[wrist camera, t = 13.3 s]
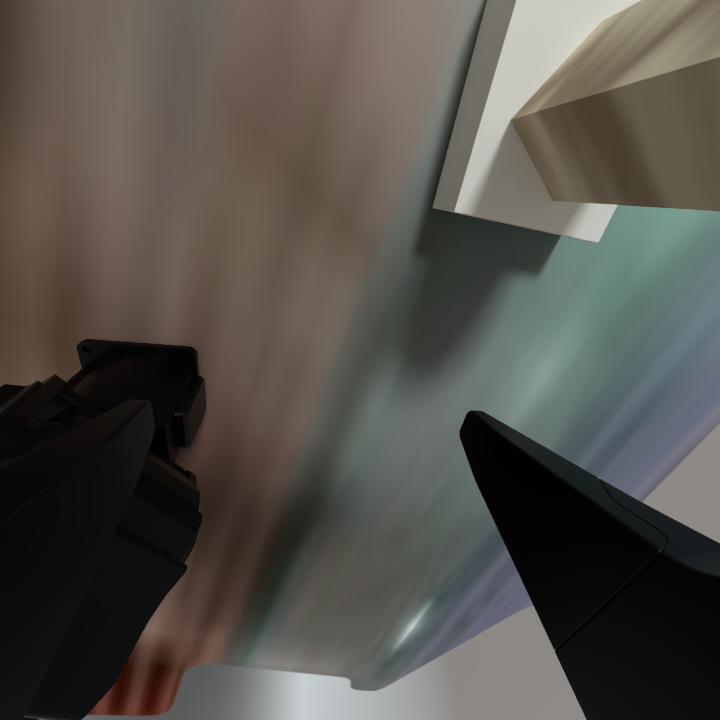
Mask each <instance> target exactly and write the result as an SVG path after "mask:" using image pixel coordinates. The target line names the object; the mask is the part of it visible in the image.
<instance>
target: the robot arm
mask: <svg viewBox="0 0 720 720" xmlns="http://www.w3.org/2000/svg"><path fill="white" fill-rule="evenodd" d="M86 346H89V347H90V348H91V349H92V350H89V349H87V348H86ZM77 351H78V355H79V359H80V362H81V366H82V369H81V370H80V371H79V372H78V373H76V374H75V375H74V376H73V377H72V378H71V379H70V380H68V381H67V382H65V381H64V380H63V379H61V378H60V377H58V376H57V375H56V374H55V375H53V376H51V377H50V378H48V379H47V380H45V381H43V382H42V383H41V382H39V381H36V382H35V383H33V384H31V385H27V386H17V385H8V384H5V385H3V386H1V387H0V720H41V719H44V720H82V719H83V718H84V717H85V716H86V715H87V714H88V713H89V712H90V711H91V710H92V709H93V707H94V706H95V705H96V704H97V703H98V702H99V701H100V700H101V699H102V698H103V696H104V695H105V694H106V693H107V692H108V691H109V690H110V689H111V688H112V686H113V685H114V684H115V682H116V681H117V679H118V677H119V676H120V674H121V672H122V670H123V668H124V666H125V664H126V662H127V660H128V658H129V656H130V655H131V653H132V651H133V649H134V647H135V645H136V643H137V641H138V639H139V637H140V636H141V634H142V632H143V630H144V629H145V627H146V625H147V623H148V621H149V620H150V618H151V617H152V615H153V614H154V612H155V611H156V609H157V608H158V606H159V605H160V603H161V602H162V600H163V599H164V598H165V596H166V595H167V593H168V592H169V591H170V590H171V589H172V588H173V586H174V585H175V584H176V583H177V582H178V580H179V579H180V578H181V577H182V576H183V575H184V573H185V572H186V570H187V565H186V564H184V563H185V561H186V559H187V558H188V556H189V554H190V552H191V550H192V548H193V546H194V544H195V541H196V538H197V534H198V531H199V528H200V525H201V523H202V513H200V512H199V511H198V509H199V499H200V492H199V490H198V487H197V485H196V475H194V474H193V473H192V472H190V471H185V470H184V469H183V468H181V467H180V466H178V465H177V464H176V463H174V462H175V460H176V457H177V455H178V453H179V450H180V449H187V448H188V447H189V446H191V444H192V442H193V439H194V436H195V434H196V431H197V429H198V426H199V425H200V423H201V420H202V416H203V413H204V411H205V408H206V401H205V384H204V379H203V378H202V377H201V376H199V369H198V354H197V351H196V350H195V349H194V348H192V347H189V346H175V345H162V344H148V343H134V342H120V341H106V340H92V339H85V340H83V341H81V342H80V343H79V344H78V345H77ZM185 353H190V354H191V356H190V357H189V356H187V355H185ZM460 439H461V442H462V445H463V447H464V450H465V453H466V456H467V459H468V462H469V464H470V467H471V470H472V473H473V475H474V478H475V481H476V483H477V485H478V488H479V490H480V492H481V494H482V496H483V498H484V500H485V503H486V505H487V507H488V509H489V511H490V513H491V515H492V518H493V520H494V522H495V524H496V526H497V528H498V530H499V532H500V535H501V537H502V539H503V541H504V543H505V545H506V547H507V550H508V552H509V554H510V556H511V558H512V560H513V562H514V565H515V567H516V569H517V571H518V573H519V575H520V577H521V580H522V582H523V584H524V586H525V588H526V590H527V592H528V595H529V597H530V599H531V601H532V603H533V605H534V607H535V610H536V612H537V614H538V616H539V618H540V620H541V622H542V625H543V627H544V629H545V631H546V633H547V635H548V637H549V640H550V642H551V644H552V646H553V648H554V649H555V653H556V655H557V657H558V659H559V661H560V663H561V666H562V668H563V670H564V672H565V674H566V677H567V679H568V681H569V683H570V685H571V687H572V689H573V691H574V694H575V696H576V698H577V700H578V702H579V704H580V707H581V708H582V711H583V713H584V715H585V717H586V719H587V720H720V543H718V542H716V541H714V540H712V539H710V538H708V537H706V536H705V535H703V534H701V533H699V532H697V531H695V530H693V529H691V528H689V527H687V526H685V525H683V524H682V523H680V522H678V521H676V520H674V519H672V518H670V517H668V516H666V515H664V514H663V513H661V512H659V511H657V510H655V509H653V508H651V507H650V506H647V505H646V504H644V503H642V502H640V501H638V500H637V499H635V498H633V497H631V496H629V495H628V494H626V493H624V492H622V491H621V490H619V489H617V488H615V487H613V486H612V485H610V484H608V483H606V482H605V481H603V480H601V479H598V478H597V477H596V476H594V475H592V474H591V473H589V472H587V471H585V470H584V469H582V468H580V467H579V466H577V465H575V464H573V463H572V462H570V461H568V460H566V459H565V458H563V457H561V456H559V455H558V454H556V453H554V452H552V451H551V450H549V449H547V448H546V447H544V446H542V445H540V444H539V443H537V442H535V441H533V440H532V439H530V438H528V437H526V436H525V435H523V434H521V433H519V432H518V431H516V430H514V429H512V428H511V427H509V426H507V425H506V424H504V423H502V422H500V421H499V420H497V419H495V418H493V417H492V416H490V415H488V414H486V413H485V412H483V411H469V412H468V413H467V415H466V417H465V419H464V422H463V424H462V426H461V429H460Z"/></svg>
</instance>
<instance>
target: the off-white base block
mask: <svg viewBox="0 0 720 720" xmlns="http://www.w3.org/2000/svg"><path fill="white" fill-rule="evenodd" d="M639 1H641V0H487V2H486V6H485V10H484V13H483V17H482V21H481V25H480V29H479V32H478V36H477V40H476V44H475V48H474V51H473V55H472V59H471V63H470V67H469V70H468V74H467V78H466V82H465V86H464V89H463V93H462V97H461V101H460V105H459V108H458V112H457V116H456V120H455V124H454V127H453V131H452V135H451V139H450V143H449V146H448V150H447V154H446V158H445V162H444V165H443V169H442V173H441V177H440V181H439V184H438V188H437V192H436V196H435V200H434V203H433V207H432V208H434V209H439V210H444V211H448V212H453V213H458V214H462V215H467V216H472V217H476V218H481V219H486V220H490V221H495V222H500V223H504V224H509V225H514V226H518V227H523V228H528V229H532V230H537V231H542V232H547V233H551V234H556V235H561V236H566V237H571V238H576V239H582V240H587V241H592V242H599V240H600V238H601V236H602V234H603V233H604V231H605V229H606V227H607V225H608V223H609V221H610V219H611V217H612V215H613V213H614V211H615V209H616V207H617V205H612V204H596V203H579V202H563V201H553V200H552V198H551V196H550V194H549V192H548V191H547V189H546V187H545V185H544V183H543V181H542V179H541V177H540V175H539V173H538V171H537V169H536V167H535V165H534V164H533V162H532V160H531V158H530V156H529V154H528V152H527V150H526V148H525V146H524V144H523V142H522V140H521V139H520V137H519V135H518V133H517V131H516V129H515V127H514V125H513V123H512V121H511V119H512V117H513V116H514V115H515V114H516V113H517V112H518V111H519V110H520V109H521V108H522V107H523V106H524V105H525V103H526V102H527V101H528V100H529V99H530V98H531V97H532V96H533V95H534V94H535V93H536V92H537V90H538V89H539V88H540V87H541V86H542V85H543V84H544V83H545V82H546V81H547V80H548V79H549V78H550V76H551V75H552V74H553V73H554V72H555V71H556V70H557V69H558V68H559V67H560V66H561V65H562V64H563V62H564V61H565V60H566V59H567V58H568V57H569V56H570V55H571V54H572V53H573V52H574V51H575V49H576V48H577V47H578V46H579V45H580V44H581V43H582V42H583V41H584V40H585V39H586V38H587V37H588V35H589V34H590V33H591V32H592V31H593V30H594V29H595V28H596V27H597V26H598V25H599V24H600V22H601V21H603V20H605V19H607V18H609V17H611V16H613V15H615V14H616V13H618V12H620V11H622V10H624V9H626V8H628V7H630V6H632V5H633V4H635V3H637V2H639Z"/></svg>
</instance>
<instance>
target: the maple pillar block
mask: <svg viewBox="0 0 720 720" xmlns="http://www.w3.org/2000/svg"><path fill="white" fill-rule="evenodd" d="M511 121H512V123H513V125H514V127H515V129H516V131H517V133H518V135H519V137H520V139H521V140H522V142H523V144H524V146H525V148H526V150H527V152H528V154H529V156H530V158H531V160H532V162H533V164H534V165H535V167H536V169H537V171H538V173H539V175H540V177H541V179H542V181H543V183H544V185H545V187H546V189H547V191H548V192H549V194H550V196H551V198H552V200H553V201H563V202H579V203H596V204H612V205H629V206H645V207H662V208H678V209H695V210H711V211H720V0H641V1H639V2H637V3H635V4H633V5H632V6H630V7H628V8H626V9H624V10H622V11H620V12H618V13H616V14H615V15H613V16H611V17H609V18H607V19H605V20H603V21H601V22H600V24H599V25H598V26H597V27H596V28H595V29H594V30H593V31H592V32H591V33H590V34H589V35H588V37H587V38H586V39H585V40H584V41H583V42H582V43H581V44H580V45H579V46H578V47H577V48H576V49H575V51H574V52H573V53H572V54H571V55H570V56H569V57H568V58H567V59H566V60H565V61H564V62H563V64H562V65H561V66H560V67H559V68H558V69H557V70H556V71H555V72H554V73H553V74H552V75H551V76H550V78H549V79H548V80H547V81H546V82H545V83H544V84H543V85H542V86H541V87H540V88H539V89H538V90H537V92H536V93H535V94H534V95H533V96H532V97H531V98H530V99H529V100H528V101H527V102H526V103H525V105H524V106H523V107H522V108H521V109H520V110H519V111H518V112H517V113H516V114H515V115H514V116H513V117H512V119H511Z"/></svg>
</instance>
